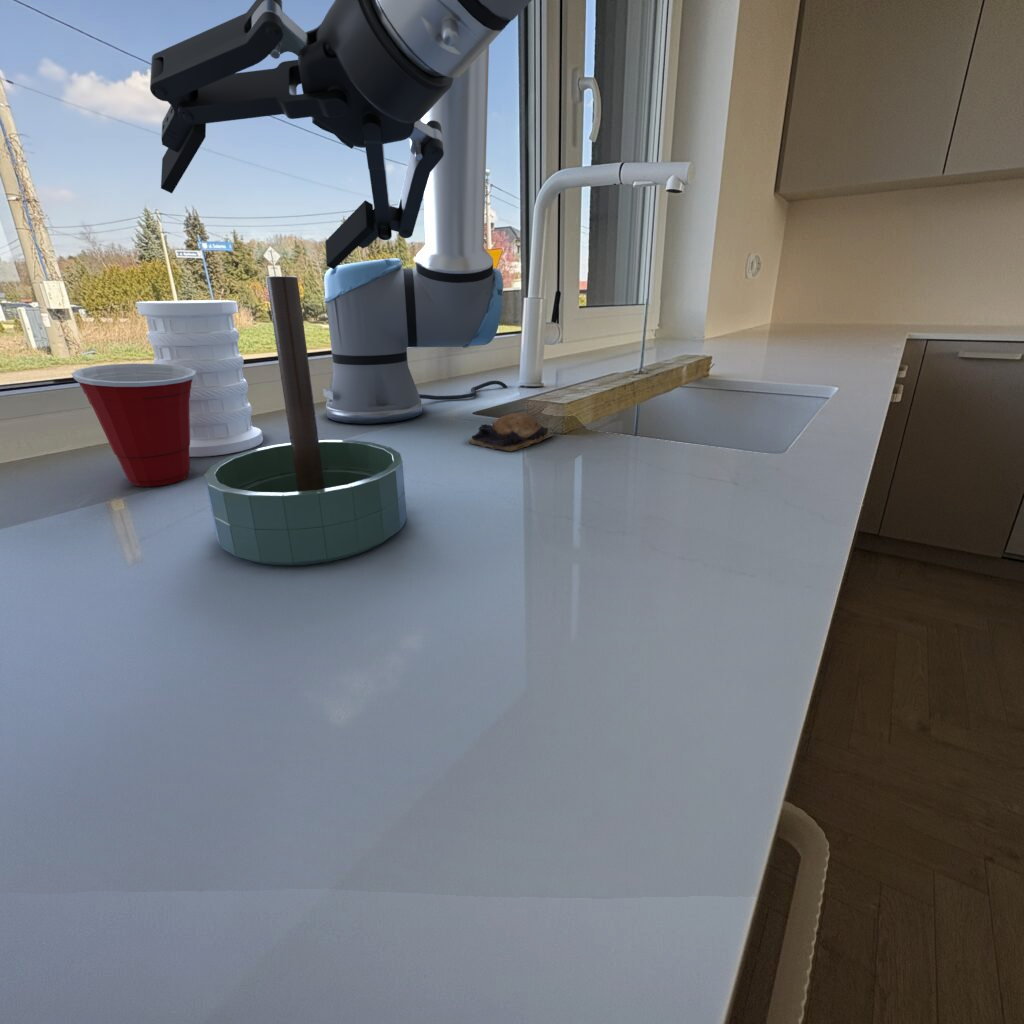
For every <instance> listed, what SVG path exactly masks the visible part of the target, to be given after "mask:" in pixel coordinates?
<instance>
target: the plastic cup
mask: <svg viewBox="0 0 1024 1024" xmlns="http://www.w3.org/2000/svg"><path fill="white" fill-rule="evenodd" d="M70 374H71V376H72V378H73V380H75V382H77V383H78V385H79V386H80V387H81V388H82V391H83V394H84V395H85V396H86V398H87V401H88V403H89V404H90V405H91V407H92V409H93V412H94V414H95V416H96V417H97V420H98V422H99V425H101V426H100V427H101V428H102V430H103V433H104V434H105V436H106V439H107V441H108V443H109V446H110V447H111V450H112V452H113V454H114V455H115V456H116V458H117V460H118V462H119V464H120V466H121V468H122V472H123V473H124V475H125V477H126V478H127V479H128V481H129V483H130V484H131V485H132V486H135V487H143V488H144V487H148V488H149V487H157V486H158V487H160V486H165V485H170V484H174V483H175V484H176V483H177V482H180V481H183V480H185V479H186V478H188V477H189V476H190V469H191V460H190V459H191V458H190V455H189V446H190V412H189V399H190V390H191V383H192V380H193V379H194V377H195V375H196V371H194V370H192V369H190V368H186V367H181V366H176V365H164V364H154V363H115V364H114V363H113V364H111V363H110V364H103V365H93V366H87V367H83V368H79V369H76V370H74V371H73V372H71V373H70Z"/></svg>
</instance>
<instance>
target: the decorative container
mask: <svg viewBox="0 0 1024 1024" xmlns="http://www.w3.org/2000/svg"><path fill="white" fill-rule="evenodd" d="M135 303H136V308H137V312H138V313H137V314H138V315H140V316H143V317H145V319H146V324H147V327H148V331H147V336H146V338H147V340H148V342H149V345H151V346H152V349H153V354H154V358H153V364H164V365H176V366H181V367H186V368H190V369H192V370H194V371H196V375H195V377H194V379H193V380H192V383H191V390H190V399H189V412H190V446H189V455H190V457H192V458H193V457H194V458H195V457H196V458H198V457H200V458H201V457H213V456H223V455H230V454H234V453H239V452H244V451H248V450H251V449H254V448H255V447H257V446H259V445H260V444H263V441H264V438H263V431H262V430H261V429H260V428H259V427H256V426H253V421H252V418H251V417H252V415H253V407H252V406H251V403H250V402H249V399H248V394H247V392H248V391H249V385H248V384H249V383H248V381H247V380H246V379H245V376H244V371H243V367H244V361H245V360H244V357H243V355H242V354H241V353H240V349H239V343H238V342H240V332H239V330H238V329H237V328H236V326H235V325H236V324H235V320H234V315H235V314H237V313H238V312H239V307H238V302H237V301H236V300H225V299H224V300H223V299H221V300H219V299H218V300H217V299H216V300H215V299H214V300H211V299H210V300H208V299H207V300H206V299H205V300H203V299H201V300H197V299H196V300H195V299H194V300H193V299H192V300H152V301H151V300H149V301H136V302H135Z"/></svg>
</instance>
